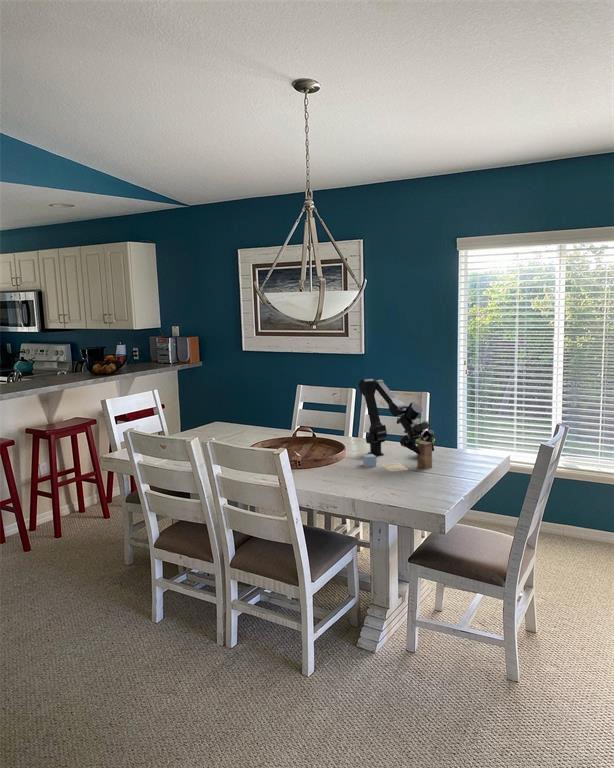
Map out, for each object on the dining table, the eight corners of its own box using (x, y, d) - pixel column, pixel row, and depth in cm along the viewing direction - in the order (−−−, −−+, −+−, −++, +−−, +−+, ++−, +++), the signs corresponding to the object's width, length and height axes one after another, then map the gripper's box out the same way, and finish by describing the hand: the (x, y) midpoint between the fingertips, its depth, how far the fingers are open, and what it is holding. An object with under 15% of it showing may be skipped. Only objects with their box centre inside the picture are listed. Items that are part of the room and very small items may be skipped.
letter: (381, 465, 283) (381, 464, 283) (398, 463, 285) (398, 462, 285) (390, 471, 272) (390, 471, 272) (408, 469, 274) (408, 469, 274)
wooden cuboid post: (417, 467, 277) (417, 442, 275) (424, 465, 280) (424, 441, 278) (425, 469, 273) (424, 444, 271) (432, 467, 276) (431, 442, 274)
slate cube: (363, 465, 285) (362, 454, 284) (372, 464, 286) (372, 454, 285) (366, 467, 280) (366, 457, 279) (376, 466, 281) (376, 456, 280)
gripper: (404, 418, 271) (422, 446, 263) (431, 412, 282) (449, 439, 274) (392, 432, 278) (409, 459, 271) (419, 426, 289) (436, 452, 282)
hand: (426, 452), depth 274 cm, fingers open, 9 cm apart
